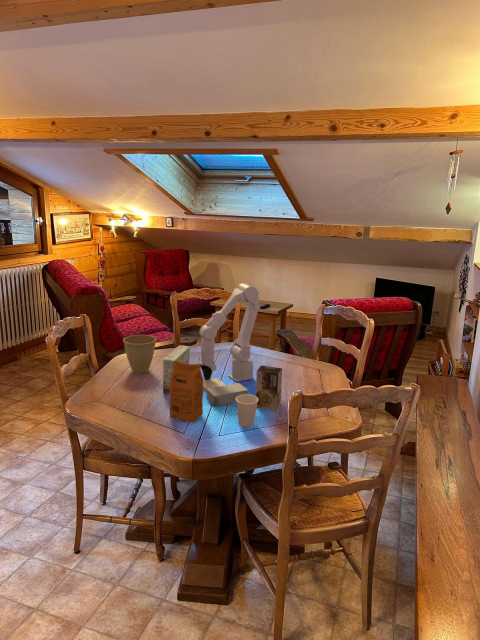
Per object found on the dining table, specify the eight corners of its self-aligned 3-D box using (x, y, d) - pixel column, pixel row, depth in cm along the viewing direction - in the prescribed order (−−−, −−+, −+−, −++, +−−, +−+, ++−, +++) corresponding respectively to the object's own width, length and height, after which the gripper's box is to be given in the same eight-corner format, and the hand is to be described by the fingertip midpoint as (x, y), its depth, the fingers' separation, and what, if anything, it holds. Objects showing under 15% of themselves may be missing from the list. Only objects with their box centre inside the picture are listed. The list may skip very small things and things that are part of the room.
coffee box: (280, 405, 188) (282, 367, 184) (276, 411, 182) (278, 373, 178) (259, 401, 191) (261, 364, 186) (254, 407, 185) (256, 370, 181)
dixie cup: (259, 428, 169) (260, 402, 166) (237, 429, 167) (238, 404, 164) (254, 417, 176) (255, 393, 174) (233, 419, 175) (233, 394, 172)
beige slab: (238, 392, 199) (238, 383, 197) (247, 399, 192) (247, 389, 191) (206, 398, 192) (206, 388, 190) (214, 406, 185) (214, 396, 184)
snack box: (175, 394, 196) (174, 360, 192) (162, 392, 197) (161, 359, 193) (190, 376, 216) (190, 345, 212) (178, 375, 217) (178, 344, 213)
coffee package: (179, 407, 183) (179, 355, 177) (206, 414, 178) (207, 360, 172) (164, 417, 174) (164, 362, 169) (192, 425, 169) (192, 369, 163)
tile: (216, 382, 210) (216, 378, 209) (229, 393, 199) (229, 388, 198) (198, 385, 206) (198, 381, 205) (210, 396, 195) (210, 392, 194)
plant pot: (133, 379, 210) (132, 345, 206) (119, 369, 221) (118, 337, 217) (162, 372, 219) (161, 340, 215) (147, 363, 230) (146, 332, 226)
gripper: (193, 348, 209) (193, 376, 213) (205, 358, 197) (205, 387, 200) (207, 346, 212) (207, 374, 216) (220, 355, 200) (220, 385, 204)
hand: (207, 380), depth 208 cm, fingers closed
